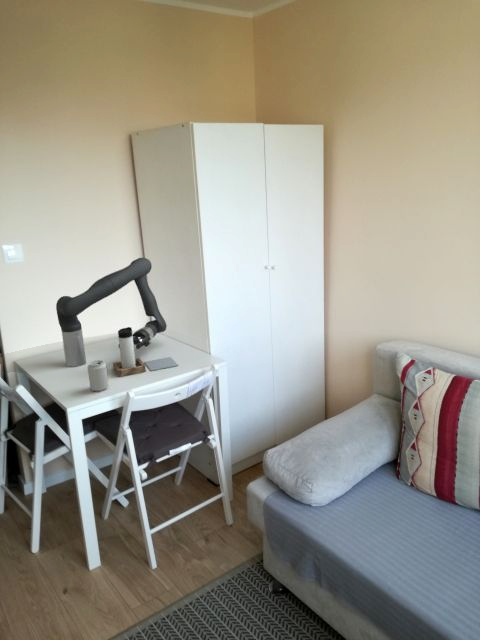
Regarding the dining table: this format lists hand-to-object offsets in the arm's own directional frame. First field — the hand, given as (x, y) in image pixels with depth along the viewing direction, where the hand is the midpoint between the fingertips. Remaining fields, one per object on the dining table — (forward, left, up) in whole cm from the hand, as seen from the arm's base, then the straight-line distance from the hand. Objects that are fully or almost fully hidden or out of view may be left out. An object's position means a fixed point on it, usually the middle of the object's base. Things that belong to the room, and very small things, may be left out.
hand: (128, 346), depth 234 cm
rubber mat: (+14, -1, -11) cm, 18 cm away
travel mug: (-1, -1, -11) cm, 11 cm away
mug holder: (-1, -1, -11) cm, 11 cm away
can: (-17, -16, -11) cm, 26 cm away
